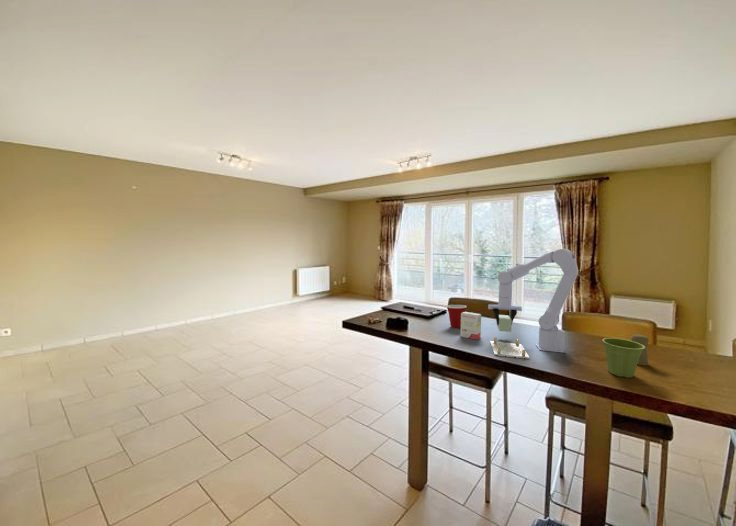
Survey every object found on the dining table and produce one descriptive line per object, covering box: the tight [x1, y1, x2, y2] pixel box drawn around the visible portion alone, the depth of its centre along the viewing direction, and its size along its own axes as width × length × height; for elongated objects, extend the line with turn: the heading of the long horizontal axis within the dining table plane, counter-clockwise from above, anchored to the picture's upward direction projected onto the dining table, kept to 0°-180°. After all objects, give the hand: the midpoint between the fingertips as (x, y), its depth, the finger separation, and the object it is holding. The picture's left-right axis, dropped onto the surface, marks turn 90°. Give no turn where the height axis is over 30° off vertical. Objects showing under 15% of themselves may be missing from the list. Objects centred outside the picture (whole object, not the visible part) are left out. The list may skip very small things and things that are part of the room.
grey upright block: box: [630, 334, 650, 366], centre depth 123 cm, size 6×6×11 cm
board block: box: [496, 314, 513, 333], centre depth 150 cm, size 5×10×6 cm, turn 164°
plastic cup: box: [446, 304, 467, 329], centre depth 171 cm, size 11×11×12 cm
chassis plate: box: [489, 336, 530, 360], centre depth 135 cm, size 13×17×3 cm
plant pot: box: [601, 337, 645, 379], centre depth 112 cm, size 12×12×11 cm
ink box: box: [460, 311, 482, 341], centre depth 153 cm, size 9×5×12 cm, turn 50°
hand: (504, 324), depth 150 cm, fingers closed on board block, 5 cm apart
